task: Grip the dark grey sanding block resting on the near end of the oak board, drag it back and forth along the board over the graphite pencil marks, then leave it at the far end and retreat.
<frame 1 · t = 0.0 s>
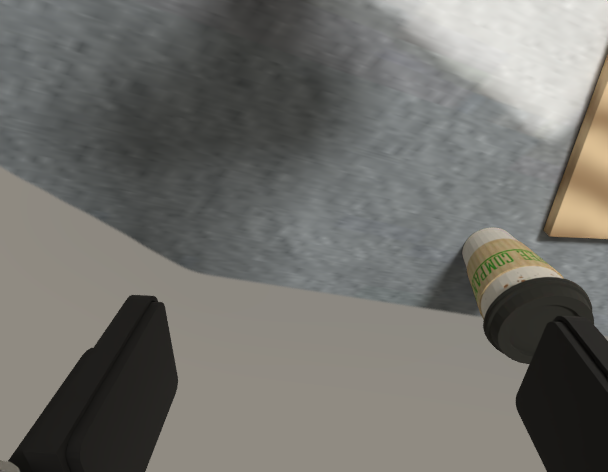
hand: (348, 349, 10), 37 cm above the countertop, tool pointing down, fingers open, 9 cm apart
coffee cup: (486, 248, 51), on the countertop
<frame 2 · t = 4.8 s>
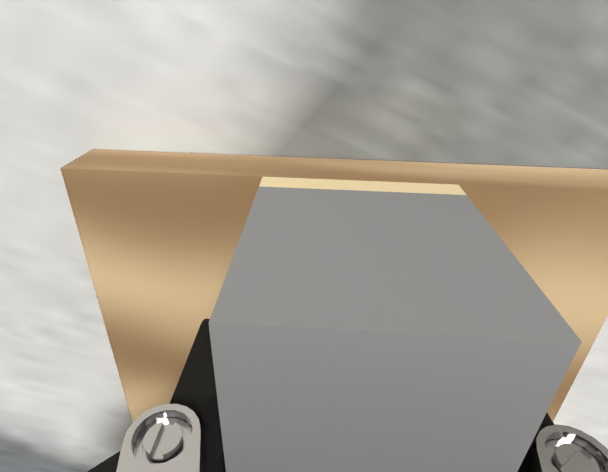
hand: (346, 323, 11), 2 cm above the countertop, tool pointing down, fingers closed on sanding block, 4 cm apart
board: (327, 457, 17), on the countertop
sanding block: (346, 315, 11), point 2 cm above the countertop, touching board, gripper
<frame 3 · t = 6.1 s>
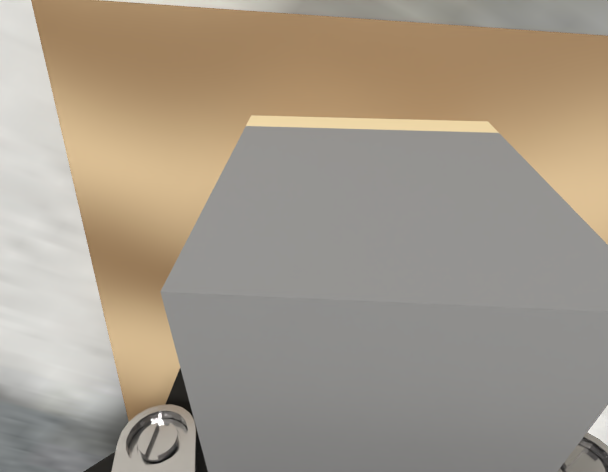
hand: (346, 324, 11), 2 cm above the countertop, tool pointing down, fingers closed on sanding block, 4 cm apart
board: (330, 409, 15), on the countertop
sanding block: (352, 278, 10), point 2 cm above the countertop, tilted 6°, touching board, gripper
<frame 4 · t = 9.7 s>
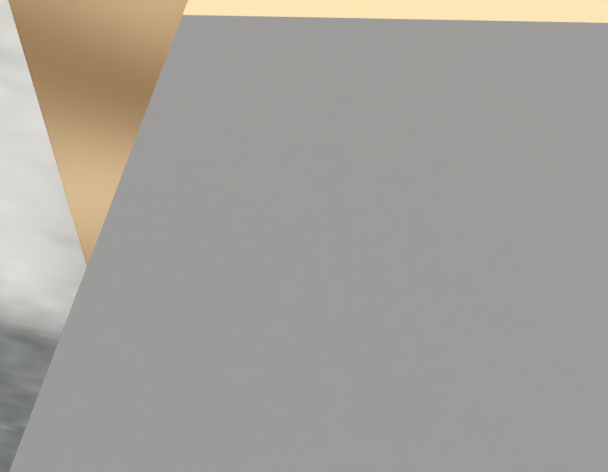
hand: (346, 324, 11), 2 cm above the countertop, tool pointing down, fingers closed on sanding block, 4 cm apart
board: (344, 304, 13), on the countertop
sanding block: (367, 216, 7), point 3 cm above the countertop, tilted 28°, touching gripper
when the fingers open (2 cm above the countertop, at t = 14.7 s): sanding block drops 2 cm, resting on board.
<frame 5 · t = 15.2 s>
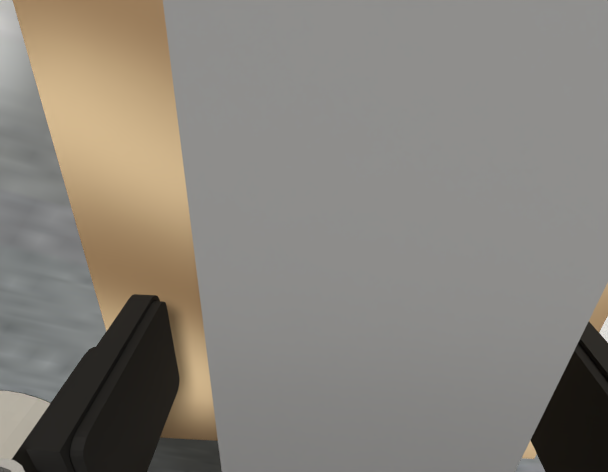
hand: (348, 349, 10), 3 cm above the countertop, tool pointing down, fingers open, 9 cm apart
board: (367, 31, 9), on the countertop
coffee cup: (28, 435, 17), on the countertop
sanding block: (360, 154, 9), point 2 cm above the countertop, touching board
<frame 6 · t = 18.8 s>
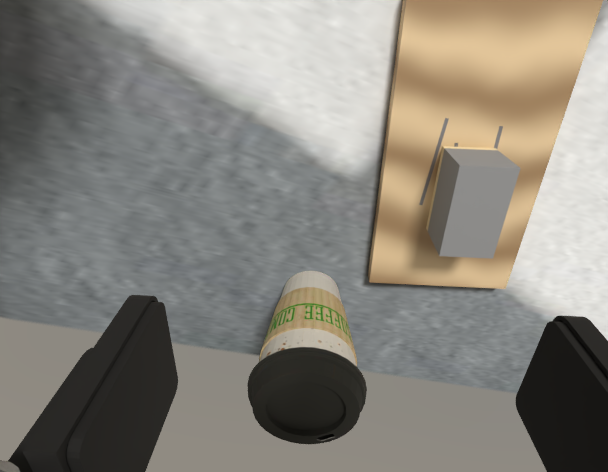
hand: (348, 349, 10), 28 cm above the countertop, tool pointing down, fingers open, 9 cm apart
board: (460, 159, 36), on the countertop
coffee cup: (311, 292, 45), on the countertop
sanding block: (458, 190, 36), point 2 cm above the countertop, touching board
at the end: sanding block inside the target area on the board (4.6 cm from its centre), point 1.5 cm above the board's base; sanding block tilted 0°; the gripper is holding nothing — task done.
